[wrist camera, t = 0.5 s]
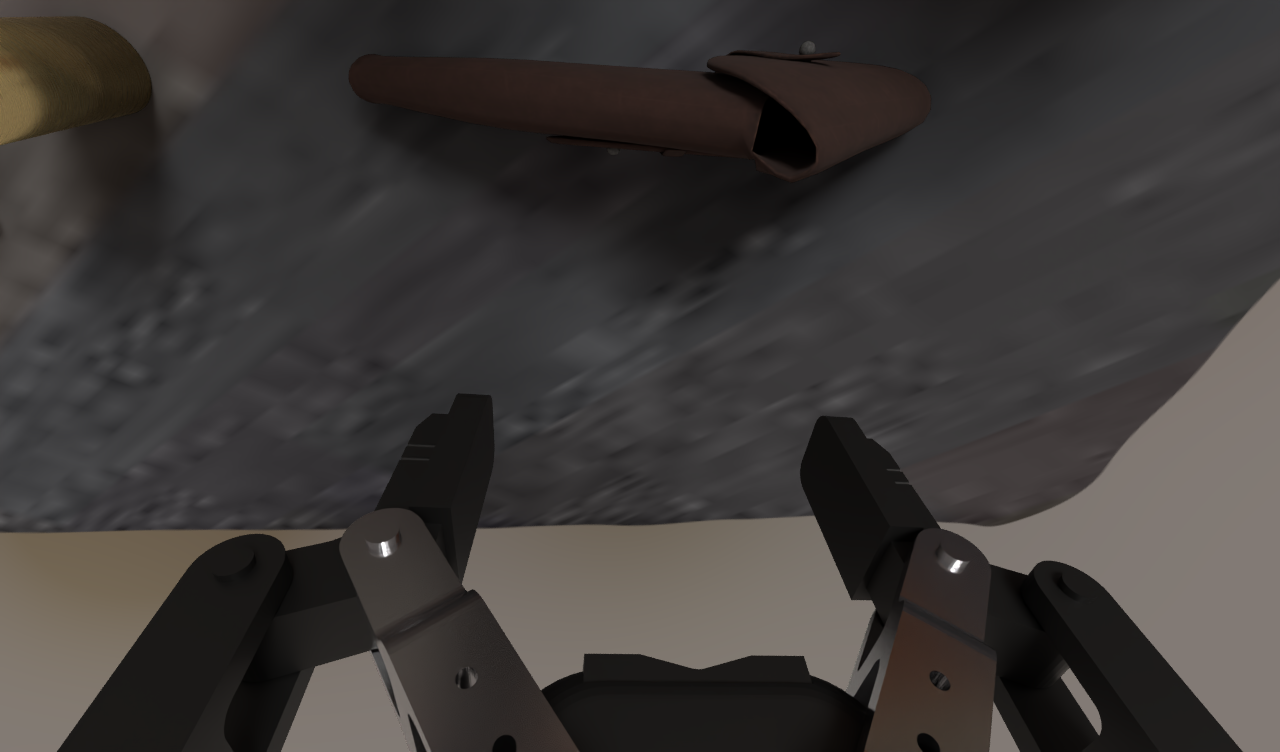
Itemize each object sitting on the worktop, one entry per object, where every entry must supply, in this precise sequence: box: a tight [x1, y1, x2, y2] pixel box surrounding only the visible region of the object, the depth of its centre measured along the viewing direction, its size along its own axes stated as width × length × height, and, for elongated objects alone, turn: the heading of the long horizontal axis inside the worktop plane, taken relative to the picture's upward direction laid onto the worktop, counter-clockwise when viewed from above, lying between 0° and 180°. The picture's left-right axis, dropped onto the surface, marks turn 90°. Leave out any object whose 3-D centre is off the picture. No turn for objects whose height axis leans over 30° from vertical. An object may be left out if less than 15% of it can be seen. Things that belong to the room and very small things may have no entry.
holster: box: [349, 41, 931, 183], centre depth 26 cm, size 5×16×25 cm
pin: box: [0, 16, 152, 145], centre depth 21 cm, size 4×4×9 cm
